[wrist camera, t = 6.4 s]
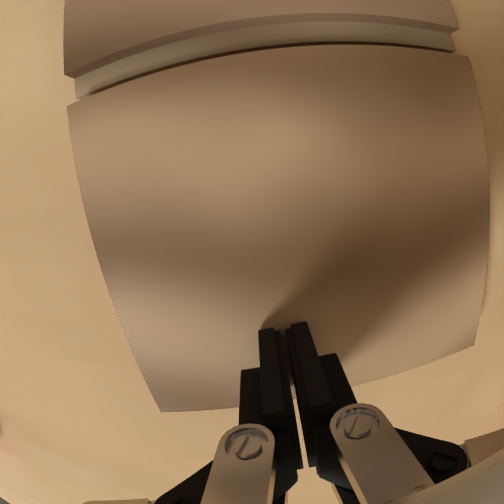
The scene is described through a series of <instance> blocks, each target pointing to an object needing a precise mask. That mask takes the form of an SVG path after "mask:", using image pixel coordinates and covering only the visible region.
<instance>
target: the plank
mask: <svg viewBox="0 0 504 504" xmlns="http://www.w3.org/2000/svg"><path fill="white" fill-rule="evenodd" d="M67 112H68V121H69V128H70V136H71V142H72V149H73V155H74V161H75V166H76V172H77V177H78V182H79V186H80V191H81V196H82V200H83V204H84V209H85V213H86V217H87V221H88V225H89V229H90V232H91V236H92V240H93V243H94V247H95V250H96V253H97V257H98V260H99V263H100V267H101V270H102V273H103V276H104V279H105V282H106V285H107V288H108V291H109V294H110V297H111V299H112V302H113V305H114V308H115V310H116V313H117V316H118V318H119V321H120V323H121V326H122V328H123V331H124V333H125V336H126V338H127V341H128V343H129V346H130V348H131V350H132V353H133V355H134V357H135V359H136V362H137V364H138V366H139V368H140V371H141V373H142V375H143V377H144V379H145V381H146V383H147V385H148V387H149V389H150V392H151V394H152V396H153V398H154V400H155V401H156V403H157V405H158V407H159V409H160V411H161V412H183V411H200V410H214V409H225V408H234V407H239V404H240V375H241V370H243V369H250V368H257V367H260V361H259V341H258V330H261V329H267V328H273V327H274V331H279V330H281V336H282V341H283V347H284V353H285V358H286V364H287V370H288V375H289V381H290V387H291V393H292V399H296V393H295V387H294V380H293V374H292V368H291V361H290V355H289V349H288V342H287V336H286V330H285V329H290V328H291V324H294V323H300V322H305V321H307V324H308V327H309V330H310V332H311V335H312V338H313V341H314V344H315V347H316V350H317V353H318V356H322V355H327V354H331V353H336V354H337V356H338V358H339V360H340V363H341V365H342V367H343V370H344V372H345V374H346V377H347V379H348V382H349V384H350V386H351V387H352V386H356V385H360V384H363V383H367V382H371V381H374V380H378V379H381V378H385V377H388V376H391V375H395V374H398V373H401V372H404V371H407V370H410V369H413V368H416V367H419V366H422V365H425V364H427V363H430V362H433V361H436V360H438V359H441V358H444V357H446V356H449V355H451V354H454V353H456V352H459V351H461V350H463V349H466V348H468V347H471V346H473V345H474V342H475V338H476V333H477V328H478V324H479V318H480V313H481V307H482V301H483V294H484V287H485V279H486V270H487V259H488V245H489V218H490V202H489V175H488V161H487V150H486V141H485V133H484V126H483V120H482V114H481V108H480V103H479V98H478V93H477V88H476V84H475V79H474V75H473V71H472V68H471V64H470V60H469V57H467V56H462V55H457V54H451V53H445V52H439V51H432V50H425V49H416V48H407V47H395V46H380V45H315V46H299V47H287V48H277V49H268V50H260V51H253V52H246V53H240V54H234V55H228V56H223V57H218V58H213V59H208V60H203V61H199V62H195V63H190V64H186V65H182V66H178V67H175V68H171V69H167V70H164V71H160V72H157V73H153V74H150V75H147V76H144V77H141V78H138V79H135V80H132V81H129V82H126V83H123V84H120V85H117V86H115V87H112V88H109V89H107V90H104V91H101V92H99V93H96V94H94V95H92V96H89V97H87V98H84V99H82V100H80V101H77V102H75V103H73V104H71V105H69V106H67Z"/></svg>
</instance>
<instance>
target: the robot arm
mask: <svg viewBox="0 0 504 504" xmlns="http://www.w3.org/2000/svg"><path fill="white" fill-rule="evenodd" d="M285 330H286V336H287V342H288V349H289V355H290V361H291V368H292V374H293V380H294V387H295V393H296V398H297V404H298V409H299V414H300V420H301V425H302V431H303V436H304V442H305V447H306V453H307V459H308V464H309V467H314V466H316V470H317V475H318V474H319V477H320V478H322V479H325V480H327V481H329V482H331V485H332V488H333V491H334V493H335V495H336V497H337V500H338V502H339V504H504V428H503V429H500V430H497V431H494V432H491V433H488V434H485V435H482V436H479V437H475V438H472V439H468V440H465V441H464V443H463V444H461V445H457V444H454V443H451V442H447V441H443V440H439V439H434V438H430V437H427V436H423V435H419V434H415V433H412V432H408V431H404V430H401V429H398V428H394V427H393V426H392V424H391V423H390V422H389V420H388V419H387V418H386V416H385V415H384V414H383V412H382V411H381V410H380V409H378V408H377V407H375V406H373V405H370V404H364V403H359V404H358V403H357V401H356V399H355V396H354V394H353V391H352V389H351V386H350V384H349V382H348V379H347V377H346V374H345V372H344V370H343V367H342V365H341V363H340V360H339V358H338V356H337V354H336V353H331V354H327V355H322V356H318V353H317V350H316V347H315V344H314V341H313V338H312V335H311V332H310V330H309V327H308V324H307V321H305V322H300V323H294V324H291V328H290V329H285ZM258 341H259V361H260V367H257V368H250V369H243V370H241V375H240V404H239V426H236V427H233V428H232V429H230V430H228V431H227V432H226V433H225V434H224V435H223V436H222V437H221V439H220V441H219V444H218V447H217V450H216V454H215V457H214V460H213V461H211V462H210V463H208V464H207V465H206V466H204V467H203V468H202V469H200V470H199V471H197V472H196V473H195V474H193V475H192V476H190V477H189V478H187V479H186V480H184V481H183V482H182V483H180V484H179V485H177V486H176V487H174V488H172V489H171V490H169V491H168V492H166V493H165V494H163V495H162V496H160V497H159V498H158V499H157V500H155V501H149V499H148V498H146V499H133V500H110V501H88V502H85V503H83V504H287V503H288V490H289V489H290V488H291V487H292V486H293V485H294V484H295V483H296V482H297V481H298V480H297V478H298V475H297V470H298V469H304V468H303V462H302V455H301V449H300V442H299V436H298V429H297V423H296V417H295V411H294V405H293V399H292V393H291V387H290V381H289V375H288V370H287V364H286V358H285V353H284V347H283V341H282V336H281V330H279V331H274V327H273V328H267V329H261V330H258Z"/></svg>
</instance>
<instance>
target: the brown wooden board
mask: <svg viewBox="0 0 504 504" xmlns="http://www.w3.org/2000/svg"><path fill="white" fill-rule="evenodd" d="M458 29H459V26H458V23H457V21H456V18H455V15H454V13H453V10H452V8H451V5H450V3H449V1H448V0H65V7H64V75H67V76H69V77H72V78H74V79H75V91H76V98H77V99H80V100H82V99H84V98H87V97H89V96H92V95H94V94H96V93H99V92H101V91H104V90H107V89H109V88H112V87H115V86H117V85H120V84H123V83H126V82H129V81H132V80H135V79H138V78H141V77H144V76H147V75H150V74H153V73H157V72H160V71H164V70H167V69H171V68H175V67H178V66H182V65H186V64H190V63H195V62H199V61H203V60H208V59H213V58H218V57H223V56H228V55H234V54H240V53H246V52H253V51H260V50H268V49H277V48H287V47H299V46H315V45H380V46H395V47H407V48H416V49H425V50H432V51H439V52H445V53H453V52H455V48H454V45H453V41H452V38H451V35H450V33H452V32H454V31H456V30H458Z"/></svg>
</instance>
